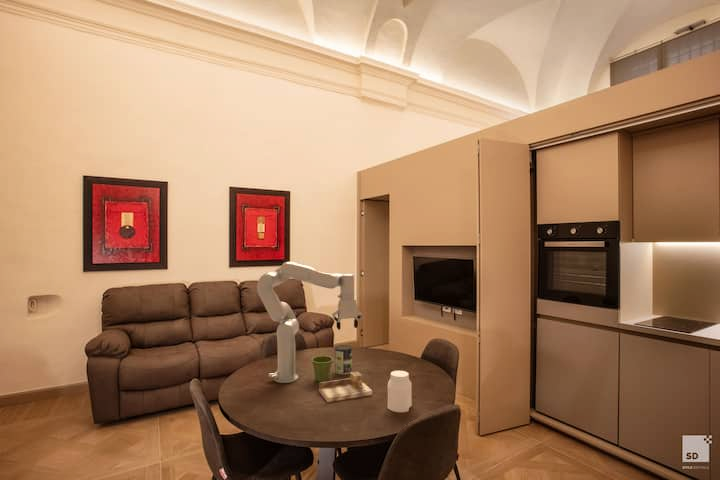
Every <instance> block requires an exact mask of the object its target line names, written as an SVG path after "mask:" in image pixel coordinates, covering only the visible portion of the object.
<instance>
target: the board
mask: <svg viewBox="0 0 720 480" xmlns="http://www.w3.org/2000/svg"><path fill="white" fill-rule="evenodd" d="M318 382H319V381H318ZM362 387H363V389H362V390H361V389H360V388H354V387H353V386H352V385H351V384H350V377H348V378H339V379H334V380H327V381H325V382H322V381H320V382H319V386H318V392H319V393H320V394H321V395H322V397H323V398H324V400H325V401H326V402H327V403H332V402H337V401H343V400H349V399H350V400H351V399H355V398H361V397H366V396H373V390H372V389H371V388H370V387H369V386H368V385H367V384H366V383H364V381H363V376H362Z"/></svg>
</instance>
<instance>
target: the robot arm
mask: <svg viewBox="0 0 720 480" xmlns="http://www.w3.org/2000/svg"><path fill="white" fill-rule="evenodd" d="M290 279H292V280H296V281H301V282H304V283H308V284H310V285H314V286H318V287H321V288H326V289H329V290H330V289H331V290H332V289H336V287H340V291H339V294H337V298H338V299H339V300H338V305H337V310H336V311H333V312H332V314H331V316H332V318H333V320H334V321H335V322H336V328H337V330H338V331H340V330H341V320H342V319H343V320H345V319H354V320H353V327H354V328H355V329H358V327H359V326H358V325H359V320H360V318H361V317H362V315H363V312H362V311H361V310H359V309H358V305H357V299H356V298H355V275H354V274H353V273H342V274H341V273H335V272H334V273H326V272H322V271H319V270H316V269H315V268H314V267H311V266H309V265H303V264H300V263H299V264H298V263H297V262H295V261H285V262H283V263H282V265H280V267H278V268H276V269H274V270H273V271H269V272H266V273H264V274H262V275H261V276H260V277H259V279H258V281H257V284H256V291H257V294H258V296H259V298H260V300H261V302H262V303H263V304H262V305H264V308H265V310H266V311H267V314H268V315H269V318H271V320H272V321H273V322H279V325H278V326H277V329H276V341H277V343H276V344H277V370H275V372H273V373H270V372H269V373H268V378H271V379H274V381H275V382H276V383H280V384H288V383H289V384H291V383H293V382H296V381H298V380H299V375H298V374H296V338H295V335H296V334H297V333H298V332H299V329H300V323H299V321H298V319H297V317H296V315H295V314H294V311H293V310H292V308H291V306H290V305H289V304H288V303H287V302H285V301H281V300H280V299H279V296H278V294H277V293H276V291H275V290H274V288H275V287H277V286H279V285H281V284H283V283H284V282H287V281H289V280H290ZM336 315H337V317H336Z"/></svg>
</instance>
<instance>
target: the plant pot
mask: <svg viewBox="0 0 720 480" xmlns="http://www.w3.org/2000/svg"><path fill="white" fill-rule="evenodd" d="M333 361H334V358H333V357H332V356H329V355H319V356H318V355H317V356H313V357H312V358H311V362H312V366H313V371H314V378H315V381H317V382H326V381H329V379H330V374H331V367H332V363H333Z"/></svg>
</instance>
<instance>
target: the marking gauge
mask: <svg viewBox="0 0 720 480" xmlns="http://www.w3.org/2000/svg"><path fill="white" fill-rule="evenodd" d="M349 375H350V376H349V378H350V384H351V385H352V386H353V387H354V388H360V389H361V390H362V389H363V387H362V377H363V375H362V374H361V373H360V372H359V371H352V372H350V374H349Z"/></svg>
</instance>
